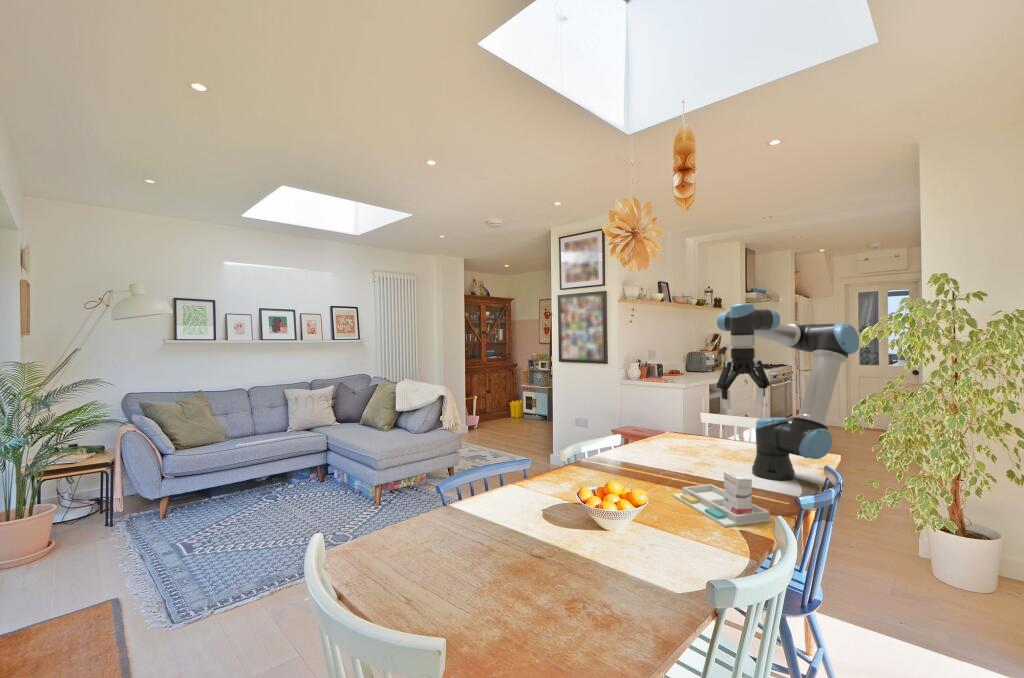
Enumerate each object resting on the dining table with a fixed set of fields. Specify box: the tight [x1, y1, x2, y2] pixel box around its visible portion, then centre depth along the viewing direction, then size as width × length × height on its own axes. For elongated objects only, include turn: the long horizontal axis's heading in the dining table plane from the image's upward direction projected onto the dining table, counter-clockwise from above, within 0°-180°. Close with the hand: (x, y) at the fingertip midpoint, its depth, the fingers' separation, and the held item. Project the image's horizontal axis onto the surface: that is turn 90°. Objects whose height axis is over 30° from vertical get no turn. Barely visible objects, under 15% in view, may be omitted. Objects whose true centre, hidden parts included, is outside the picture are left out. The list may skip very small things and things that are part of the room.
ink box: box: [723, 471, 753, 515], centre depth 148 cm, size 9×5×12 cm, turn 5°
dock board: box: [672, 483, 771, 528], centre depth 155 cm, size 16×28×3 cm, turn 13°
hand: (743, 407), depth 164 cm, fingers open, 13 cm apart
